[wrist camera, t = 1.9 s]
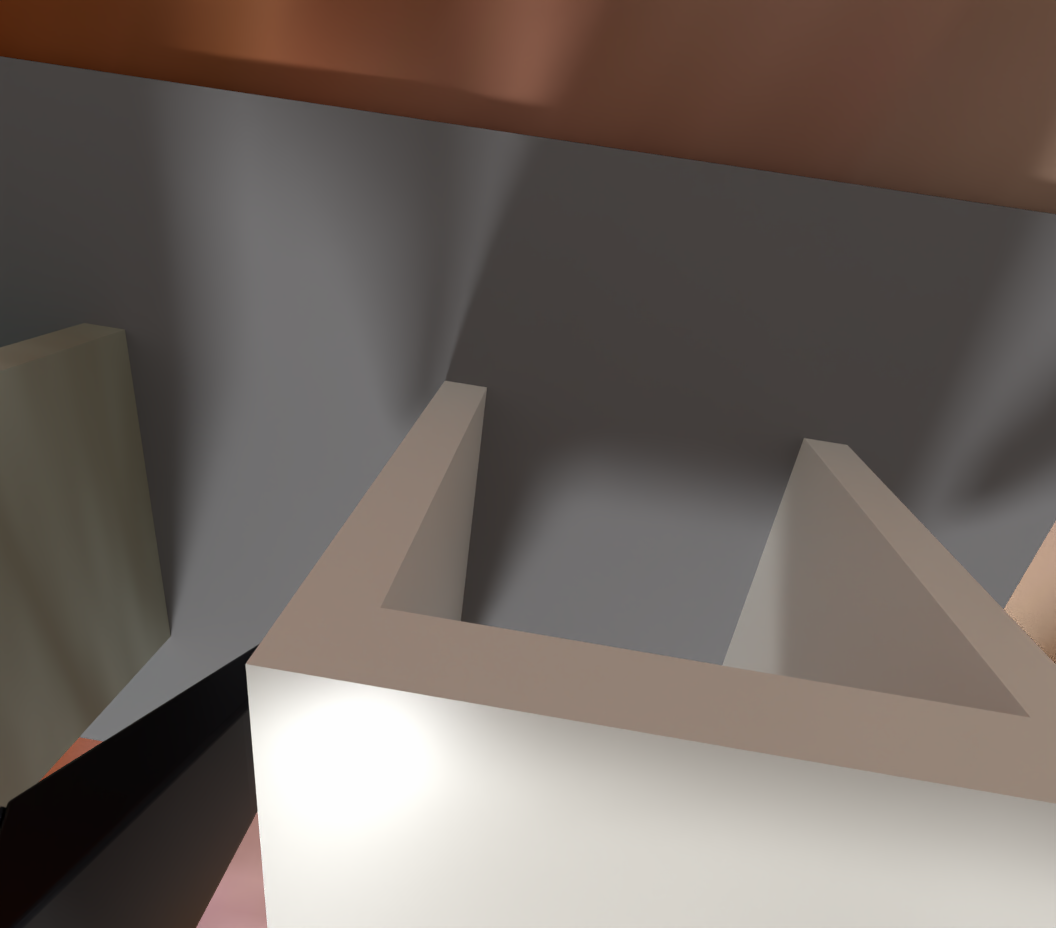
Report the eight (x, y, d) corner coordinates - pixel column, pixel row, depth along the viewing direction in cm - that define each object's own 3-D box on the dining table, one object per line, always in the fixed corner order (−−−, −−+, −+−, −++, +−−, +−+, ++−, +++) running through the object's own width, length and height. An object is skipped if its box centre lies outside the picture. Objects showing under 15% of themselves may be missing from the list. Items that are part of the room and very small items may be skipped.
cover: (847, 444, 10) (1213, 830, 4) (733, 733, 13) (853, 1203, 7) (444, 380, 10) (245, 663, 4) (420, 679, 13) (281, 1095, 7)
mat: (1194, 236, 9) (1221, 239, 8) (841, 855, 15) (848, 872, 14) (-561, -27, 9) (-607, -35, 9) (-207, 671, 15) (-227, 683, 15)
